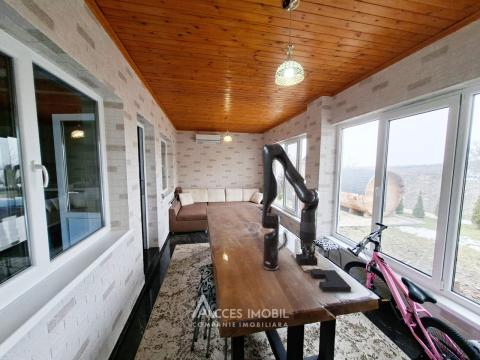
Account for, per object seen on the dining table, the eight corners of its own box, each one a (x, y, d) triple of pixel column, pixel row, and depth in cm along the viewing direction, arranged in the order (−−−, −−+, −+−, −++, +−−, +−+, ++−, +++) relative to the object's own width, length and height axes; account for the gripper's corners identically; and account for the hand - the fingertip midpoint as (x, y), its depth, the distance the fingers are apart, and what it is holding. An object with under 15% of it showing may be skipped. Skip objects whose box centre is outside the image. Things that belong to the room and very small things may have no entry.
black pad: (295, 260, 98) (296, 254, 98) (313, 260, 98) (313, 254, 98) (299, 265, 93) (299, 258, 93) (317, 265, 93) (317, 258, 93)
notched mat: (310, 274, 111) (310, 269, 111) (334, 274, 111) (334, 270, 111) (323, 291, 95) (323, 286, 95) (350, 291, 95) (351, 287, 95)
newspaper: (324, 271, 114) (324, 267, 114) (304, 274, 113) (304, 270, 113) (308, 254, 137) (308, 250, 136) (291, 256, 136) (291, 252, 136)
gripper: (295, 224, 101) (294, 255, 103) (305, 234, 87) (303, 270, 88) (309, 224, 101) (308, 255, 103) (321, 234, 87) (320, 270, 88)
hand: (306, 262), depth 95 cm, fingers closed on black pad, 5 cm apart
